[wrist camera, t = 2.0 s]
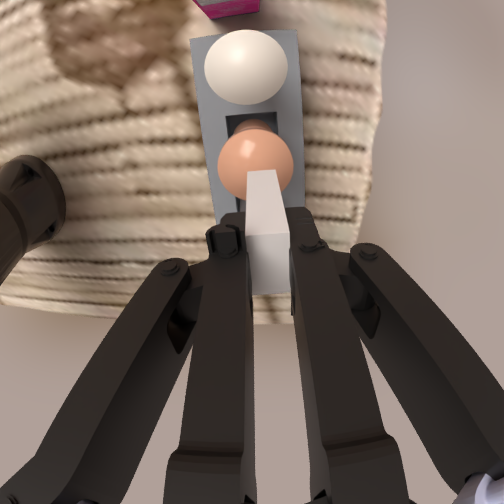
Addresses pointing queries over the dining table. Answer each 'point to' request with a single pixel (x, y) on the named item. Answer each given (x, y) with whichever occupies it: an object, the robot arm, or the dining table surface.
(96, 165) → the dining table surface
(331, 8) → the dining table surface
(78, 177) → the dining table surface
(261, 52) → the cream plug
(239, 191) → the terracotta plug
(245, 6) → the supplement box
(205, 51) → the socket block
